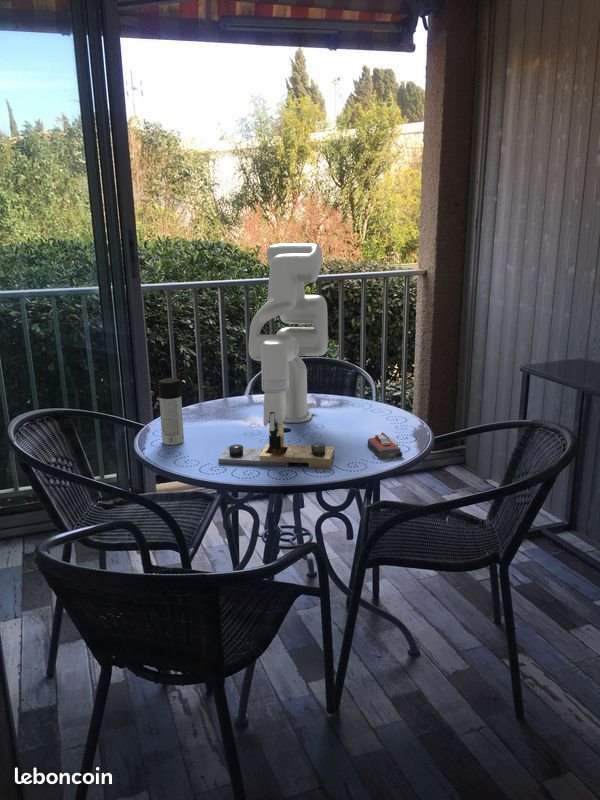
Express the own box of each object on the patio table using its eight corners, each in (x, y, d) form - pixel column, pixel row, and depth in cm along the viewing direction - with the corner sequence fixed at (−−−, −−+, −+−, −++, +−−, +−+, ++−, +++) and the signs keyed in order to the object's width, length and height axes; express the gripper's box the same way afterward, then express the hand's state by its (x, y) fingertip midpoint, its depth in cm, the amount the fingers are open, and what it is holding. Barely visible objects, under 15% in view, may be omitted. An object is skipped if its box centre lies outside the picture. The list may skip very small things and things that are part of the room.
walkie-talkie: (409, 459, 193) (385, 437, 211) (409, 444, 192) (385, 423, 210) (380, 461, 191) (358, 439, 210) (380, 447, 190) (358, 426, 208)
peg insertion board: (227, 451, 199) (227, 435, 198) (334, 456, 194) (334, 440, 193) (218, 463, 190) (217, 447, 188) (330, 469, 185) (330, 452, 183)
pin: (276, 452, 194) (275, 413, 191) (286, 455, 192) (286, 416, 189) (267, 456, 191) (266, 416, 188) (277, 459, 189) (276, 419, 186)
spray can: (188, 441, 209) (184, 379, 203) (173, 447, 203) (168, 384, 198) (173, 437, 212) (169, 376, 207) (157, 443, 207) (153, 381, 202)
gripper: (268, 376, 194) (269, 436, 199) (255, 391, 178) (257, 455, 183) (293, 377, 193) (294, 437, 198) (283, 392, 177) (284, 457, 182)
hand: (276, 445), depth 191 cm, fingers closed on pin, 4 cm apart
